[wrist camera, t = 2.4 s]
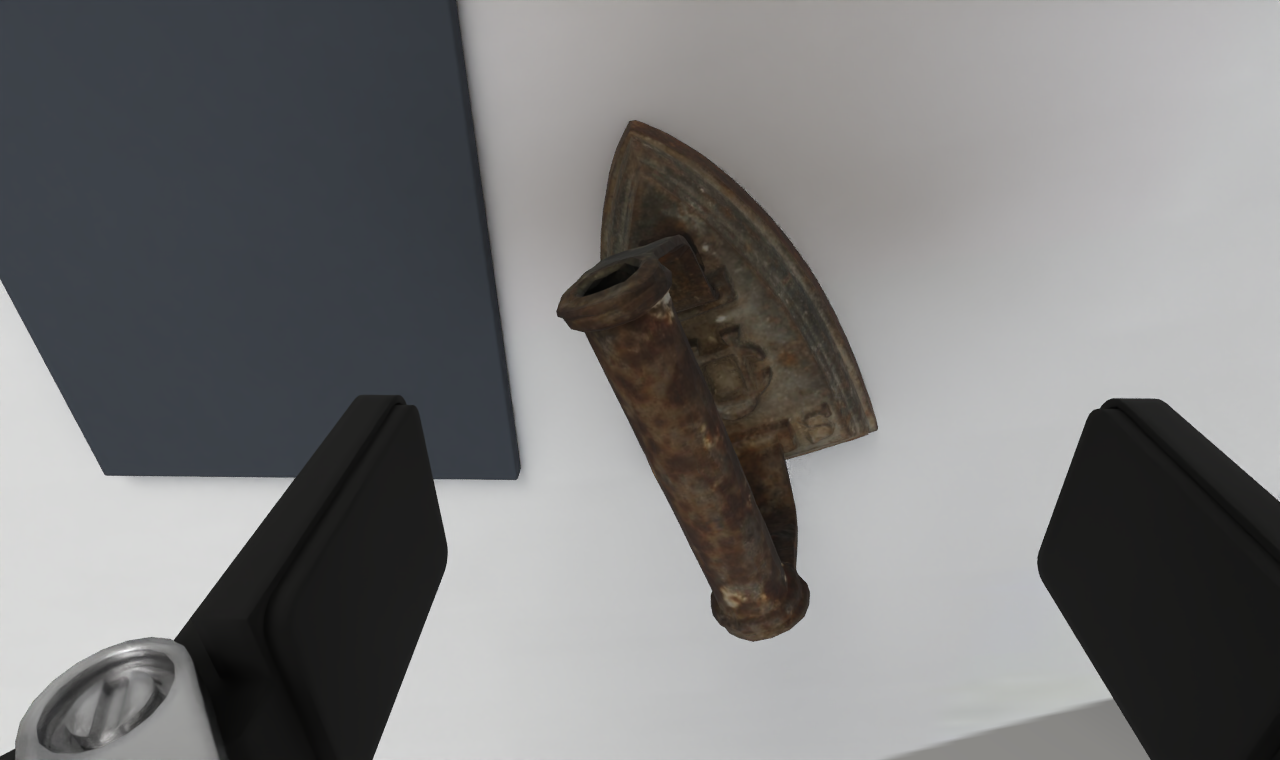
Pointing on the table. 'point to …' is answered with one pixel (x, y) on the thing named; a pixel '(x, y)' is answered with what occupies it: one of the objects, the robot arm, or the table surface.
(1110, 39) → the table surface
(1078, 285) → the table surface
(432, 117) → the iron rest mat
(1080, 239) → the table surface
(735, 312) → the clothes iron
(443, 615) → the table surface
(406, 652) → the robot arm
